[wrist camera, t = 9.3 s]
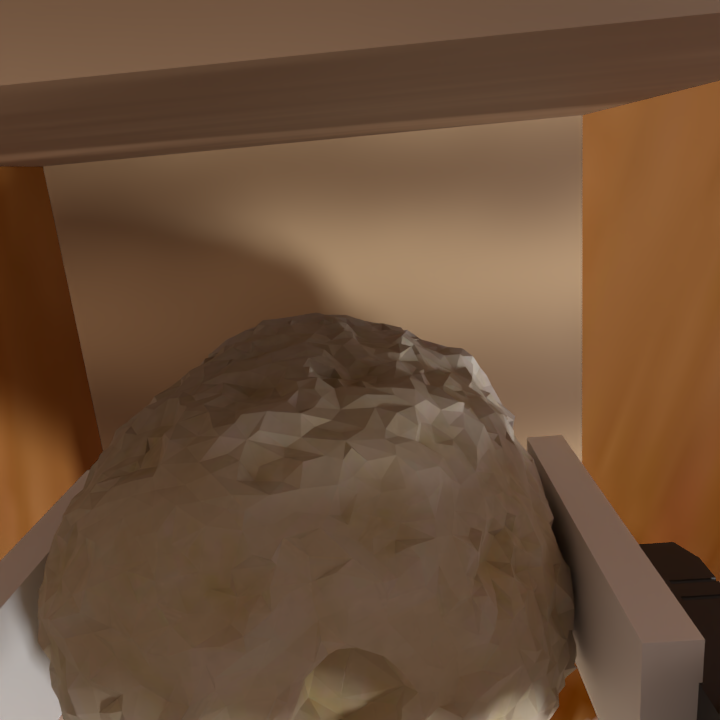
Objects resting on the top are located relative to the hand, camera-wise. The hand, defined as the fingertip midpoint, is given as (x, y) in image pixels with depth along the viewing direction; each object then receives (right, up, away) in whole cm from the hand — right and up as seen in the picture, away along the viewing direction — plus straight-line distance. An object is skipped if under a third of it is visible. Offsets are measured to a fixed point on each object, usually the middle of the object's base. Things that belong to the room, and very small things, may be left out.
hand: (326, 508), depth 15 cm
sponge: (0, 0, 0) cm, 0 cm away
